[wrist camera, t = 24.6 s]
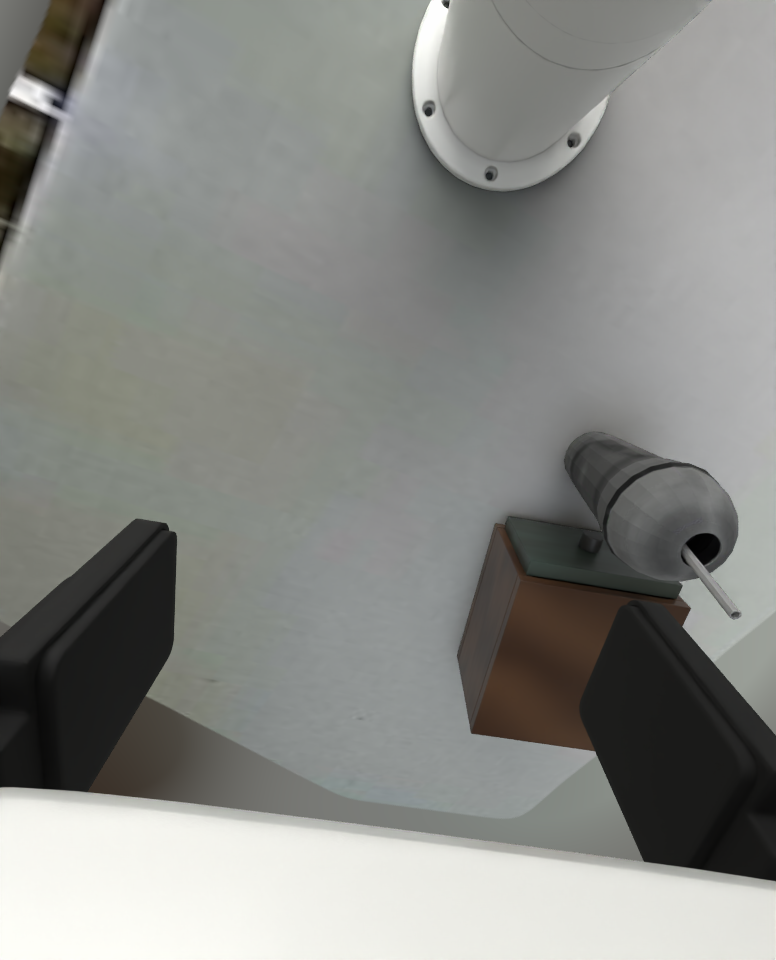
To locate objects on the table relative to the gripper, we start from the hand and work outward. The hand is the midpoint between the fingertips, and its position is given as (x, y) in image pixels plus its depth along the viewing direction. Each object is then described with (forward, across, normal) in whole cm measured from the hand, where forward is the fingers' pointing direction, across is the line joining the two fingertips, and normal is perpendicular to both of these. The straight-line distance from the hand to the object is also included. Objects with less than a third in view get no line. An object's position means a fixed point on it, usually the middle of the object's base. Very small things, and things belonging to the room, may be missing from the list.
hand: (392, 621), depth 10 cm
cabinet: (+30, -18, +18) cm, 39 cm away
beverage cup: (+31, -18, +4) cm, 35 cm away
